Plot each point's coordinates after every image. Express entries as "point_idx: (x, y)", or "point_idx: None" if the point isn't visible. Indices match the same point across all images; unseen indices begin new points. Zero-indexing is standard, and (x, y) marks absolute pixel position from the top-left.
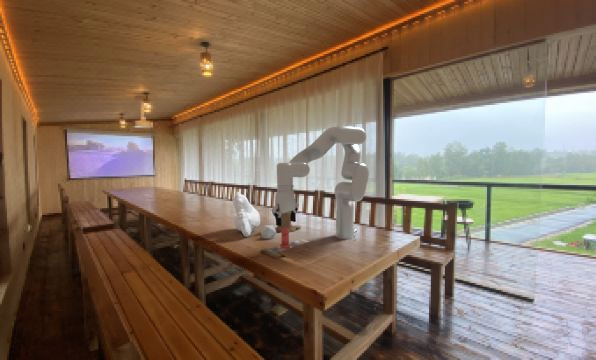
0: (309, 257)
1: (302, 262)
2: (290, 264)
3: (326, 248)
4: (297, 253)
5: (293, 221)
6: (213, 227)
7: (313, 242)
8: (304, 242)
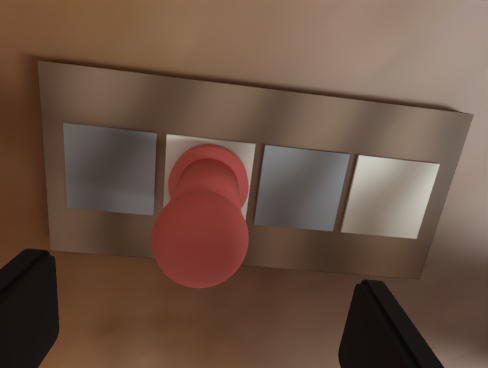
0: (202, 351)
1: (122, 362)
2: None
3: None
4: None
5: (343, 339)
6: None
7: (452, 232)
8: (376, 228)
